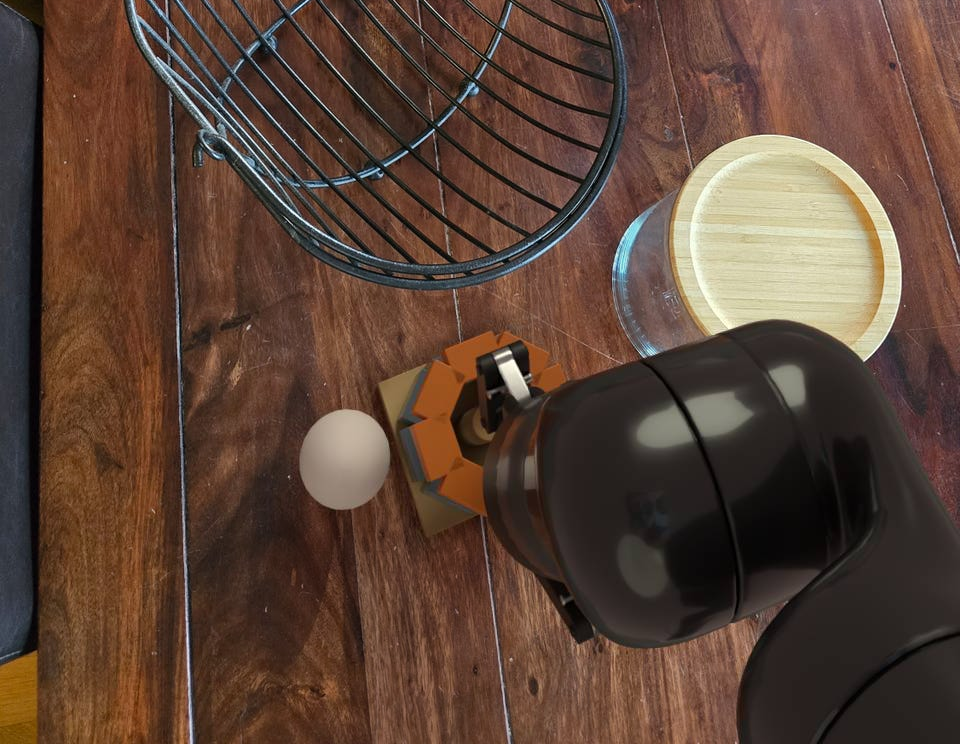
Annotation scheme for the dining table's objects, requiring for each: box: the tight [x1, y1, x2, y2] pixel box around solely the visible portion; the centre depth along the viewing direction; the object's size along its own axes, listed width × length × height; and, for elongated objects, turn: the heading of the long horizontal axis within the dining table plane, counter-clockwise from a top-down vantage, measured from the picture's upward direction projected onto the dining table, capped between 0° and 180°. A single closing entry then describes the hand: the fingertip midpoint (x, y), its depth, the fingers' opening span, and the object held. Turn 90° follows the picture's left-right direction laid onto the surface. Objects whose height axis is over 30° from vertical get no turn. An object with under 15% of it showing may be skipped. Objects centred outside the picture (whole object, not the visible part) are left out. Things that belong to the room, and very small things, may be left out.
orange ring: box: [409, 330, 567, 518], centre depth 63 cm, size 9×9×2 cm
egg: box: [298, 408, 391, 511], centre depth 67 cm, size 5×5×7 cm
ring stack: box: [376, 329, 512, 538], centre depth 68 cm, size 9×9×9 cm
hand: (514, 486), depth 62 cm, fingers closed on orange ring, 2 cm apart
